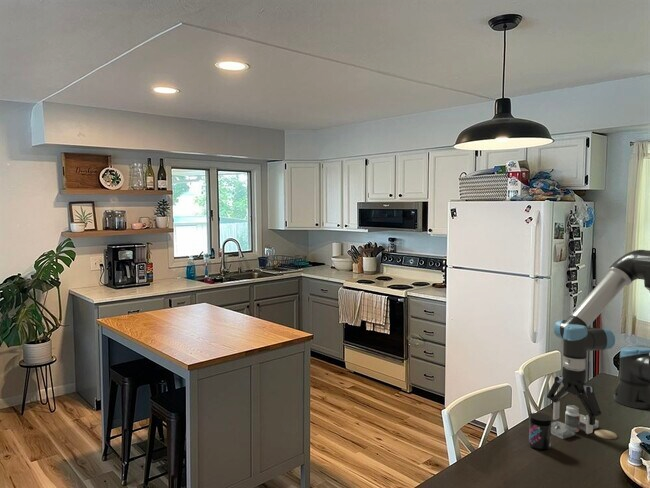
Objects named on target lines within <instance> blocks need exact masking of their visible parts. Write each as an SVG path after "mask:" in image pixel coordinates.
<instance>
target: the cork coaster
mask: <svg viewBox="0 0 650 488" xmlns="http://www.w3.org/2000/svg"><path fill="white" fill-rule="evenodd" d="M593 431H594V435H596V436H597V437H599V438H600V439H601V438H602V439H604V440H616V439H617V438H618V435H617V434H616V433H615V432H614V431H611V430H607V429H596V430H593Z"/></svg>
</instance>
